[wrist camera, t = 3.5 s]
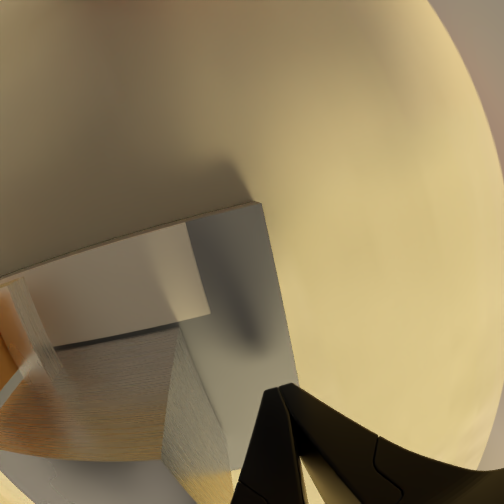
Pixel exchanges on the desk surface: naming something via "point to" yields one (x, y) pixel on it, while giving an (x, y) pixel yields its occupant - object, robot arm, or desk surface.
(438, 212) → the desk surface
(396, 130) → the desk surface
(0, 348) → the block
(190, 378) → the grey faceted block
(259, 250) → the gauge board
